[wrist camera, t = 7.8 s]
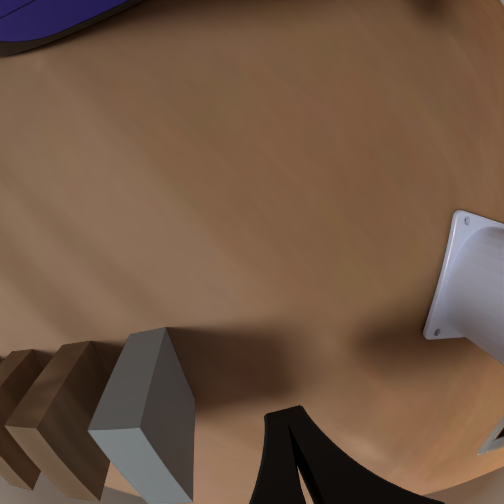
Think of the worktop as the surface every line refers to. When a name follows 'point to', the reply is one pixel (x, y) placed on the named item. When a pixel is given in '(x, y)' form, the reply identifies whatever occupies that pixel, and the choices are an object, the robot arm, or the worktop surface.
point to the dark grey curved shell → (50, 20)
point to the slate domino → (149, 419)
